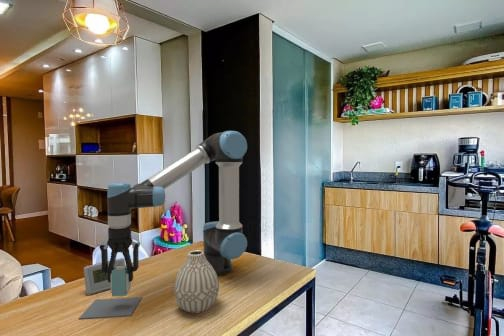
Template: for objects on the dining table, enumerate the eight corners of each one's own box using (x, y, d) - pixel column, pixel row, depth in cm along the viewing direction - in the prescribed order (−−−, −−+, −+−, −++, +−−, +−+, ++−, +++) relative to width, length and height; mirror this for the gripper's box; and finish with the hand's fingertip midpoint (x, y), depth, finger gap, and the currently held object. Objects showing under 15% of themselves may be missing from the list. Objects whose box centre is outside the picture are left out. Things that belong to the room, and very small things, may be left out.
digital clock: (84, 297, 116) (83, 270, 115) (83, 288, 124) (82, 263, 123) (129, 287, 124) (128, 262, 124) (125, 279, 132) (125, 255, 132)
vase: (181, 296, 115) (180, 245, 114) (222, 296, 115) (221, 245, 114) (168, 319, 99) (166, 260, 98) (215, 319, 99) (214, 260, 98)
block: (129, 290, 109) (128, 265, 109) (125, 295, 105) (124, 270, 105) (116, 290, 109) (116, 266, 109) (111, 296, 104) (111, 270, 104)
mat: (141, 298, 114) (141, 297, 114) (131, 316, 101) (130, 315, 101) (95, 300, 113) (95, 299, 113) (78, 319, 100) (78, 318, 100)
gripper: (147, 223, 111) (148, 284, 112) (98, 224, 109) (99, 287, 110) (142, 228, 103) (143, 294, 104) (89, 229, 102) (90, 296, 102)
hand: (120, 290), depth 107 cm, fingers closed on block, 4 cm apart
